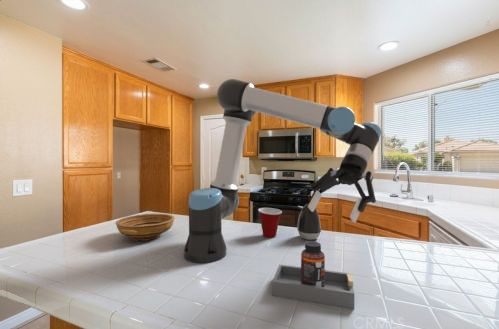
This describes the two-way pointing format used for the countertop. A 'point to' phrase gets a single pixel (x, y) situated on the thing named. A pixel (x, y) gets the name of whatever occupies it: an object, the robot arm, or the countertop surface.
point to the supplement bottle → (313, 265)
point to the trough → (314, 287)
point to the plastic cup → (269, 221)
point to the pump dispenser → (308, 223)
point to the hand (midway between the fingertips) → (329, 214)
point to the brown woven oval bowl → (145, 225)
